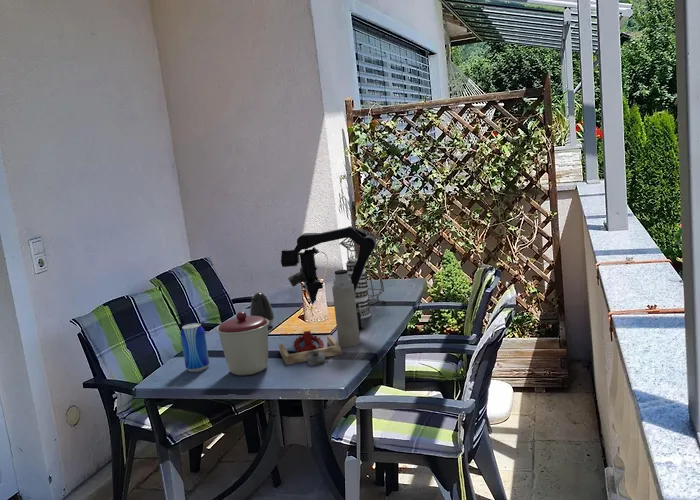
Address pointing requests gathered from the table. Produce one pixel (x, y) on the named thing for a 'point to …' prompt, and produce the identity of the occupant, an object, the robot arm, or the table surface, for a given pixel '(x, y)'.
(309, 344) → the red cog wheel
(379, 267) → the geometric lantern
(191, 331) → the beer can
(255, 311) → the dark grey rounded cone
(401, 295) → the table surface
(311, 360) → the carrier
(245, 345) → the canister
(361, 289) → the decorative candle
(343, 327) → the thermos bottle
